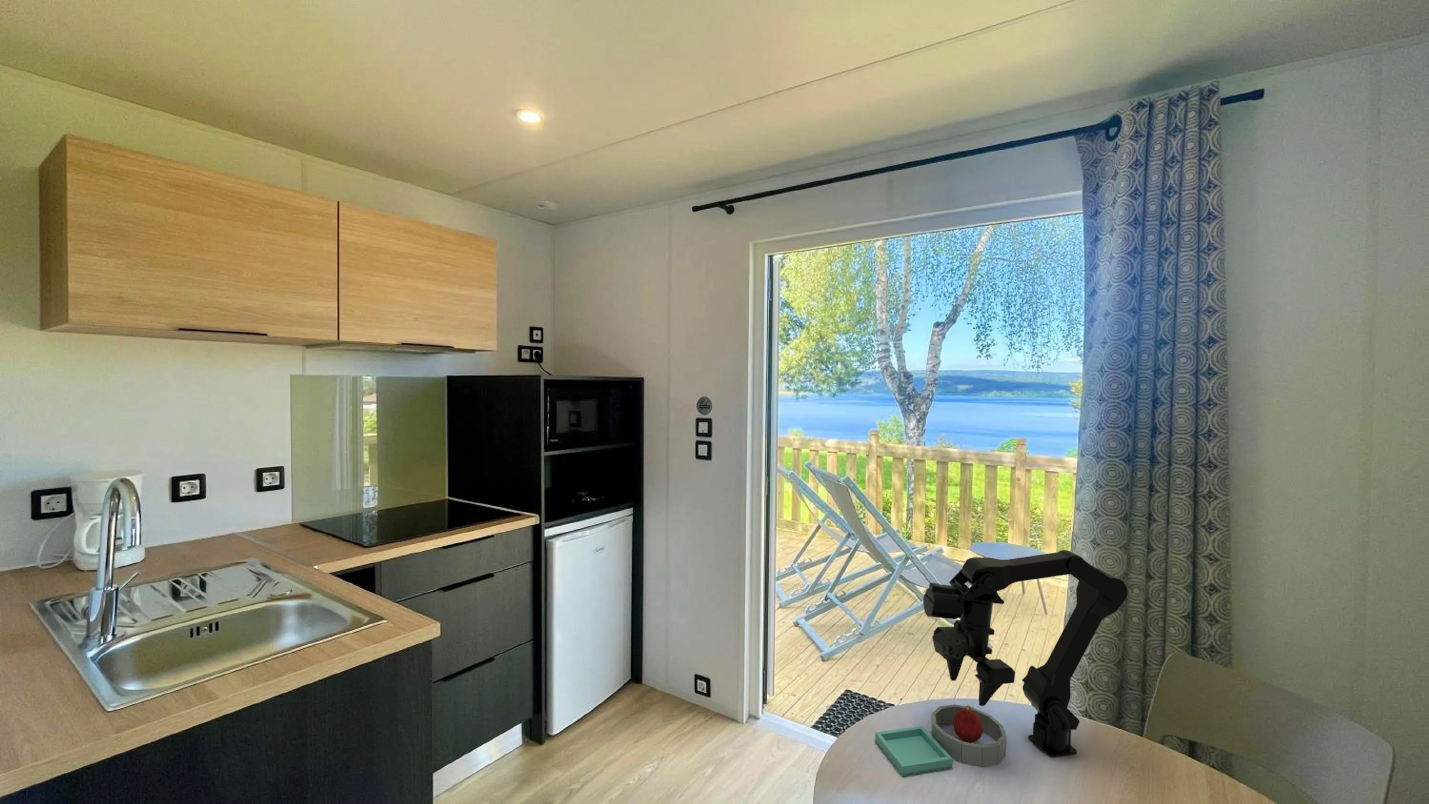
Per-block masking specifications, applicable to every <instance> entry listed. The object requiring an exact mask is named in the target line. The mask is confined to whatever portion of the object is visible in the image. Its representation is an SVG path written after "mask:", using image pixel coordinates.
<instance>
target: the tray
mask: <svg viewBox="0 0 1429 804" xmlns="http://www.w3.org/2000/svg"><path fill="white" fill-rule="evenodd" d="M874 733H875V735H874V736H875V737H874V738H875V740H874V742H875V744H876V745H877V746H878V747H879V749H880V750H881V751H882V753H883V754H884V755H885V757H886V758H887V760H889V762H890V763H891V764H892V766H893V768H894V769H895V770H896V771H897V772H898V774H899V775H900V776H901V778H905V777H912V776H917V775H923V774H929V773H935V772H941V771H942V772H943V771H948V770H953V766H954V765H953V764H954V763H953V762H954V761H953V760H954V759H953V758H952V757H951V756H950V755H949V754H948V753H947V752H946V751H945V750H944V749H943V748H942V747H941V746H940V745H939V744H938V742H937V741H936V740H935V739H934V738H933V737H932V736H931V733H929V732H928V731H927V729H926V728H925V727H924V726H923V725H919V726H911V727H905V728H904V727H903V728H898V729H889V730H883V731H875V732H874Z"/></svg>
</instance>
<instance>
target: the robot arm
mask: <svg viewBox="0 0 1429 804" xmlns="http://www.w3.org/2000/svg"><path fill="white" fill-rule="evenodd" d="M1084 559H1085V558H1083V557H1082V556H1080V555H1078V554H1077V553H1075V552H1073V551H1070V550H1068V549H1067V550H1066V549H1062V550H1059V551H1057V552H1050V553H1043V554H1035V555H1029V556H1023V557H1016V558H1009V559H999V558H992V557H986V556H985V557H982V556H981V557H980V556H973V557H969V558H967V559H966V560H965V562H964V563H963V565H962V568H961V569H960V570H959V571H958V572H957V573H956V574H955V575H954V576H952V579H951V580H949V582H948V583H949V584H948V585H947V584H940V583H937V582H929V585H928V587H927V589H926V590H925V591H924V594H923V600H922V601H923V610H924V613H925V615H926V616H927V617H929V618H939V619H950V620H954V621H955V622H953V626H937V627H936V628H935V629H934V630H933V635H932V636H931V637H932V643H933V647H934V651H935V653H937V654H939V656H941V657H942V658H943V659H944V660H946V664H947V669H948V673H949V678H950V680H951V681H952V682H954V681H955V682H956V681H957V680H958V677H959V674H960V672H961V668H962V665H963V661H964V659H965V657H966V656H967V657H969V658H970V659H971V660H973V661H974V662H975V663H976V667H975V671H976V673H977V674H974V676H975V678H976V679H977V680H978V681H979V686H978V687H979V689H978V705H979V707H985V706H986V705H987V704H988V702H989V701H990V699H991V698H992V697H993V696H994V694H995V693H996V692H997V691H998V690H999V689H1000V688H1001V687H1002V686H1003V685H1004V684H1005V685H1007V684H1014V683H1015V677H1016V671H1015V670H1014V669H1013V668H1012V667H1011V666H1010V665H1008V664H1007V663H1006V662H1005V661H1003V660H1002V659H999V658H994V659H989V658H988V657H987V655H992V654H993V649H992V648H991V647H989V640H990V636H994V635H995V632H996V631H995V629H993V628H992V627H991V623H992V615H993V605H994V604H996V605H998V604H999V605H1004V604H1005V600H1003V599H1002V597H1001V596H1000V595H999V593H998V592H999V591H1003V590H1006V588H1008V587H1009V586H1011V585H1012V584H1015V583H1019V582H1025V581H1033V580H1040V579H1046V578H1047V579H1048V578H1054V577H1060V576H1068V575H1070V576H1072V577H1073V578H1075V579H1076V580H1077V581H1078V582H1077V585H1076V590H1075V591H1076V592H1075V594H1076V605H1075V607H1074V609H1073V611H1072V612H1071V615H1070V617H1069V618H1068V621H1067V623H1066V625H1065V627H1064V629H1063V630H1062V632H1061V634H1060V636H1059V637H1058V640H1057V641H1056V644H1054V647H1053V649H1052V651H1051V652H1050V655H1049V657H1048V658H1047V660H1046V662H1045V663H1044V664H1043V665H1041V666H1039V667H1035V666H1034V665H1030V667H1028V670H1027V672H1026V673H1027V674H1026V675H1025V676H1024V677H1023V678H1022V679H1021V681H1022V682H1023V685H1022V691H1023V694H1024V695H1023V696H1024V697H1025V698H1026V699H1027V700H1028V701H1029V702H1030V705H1031V706H1032V707H1033V708H1035V710H1036V711H1037V713H1035V714H1034V722H1032V723H1033V724H1032V727H1033V728H1032V734H1028V737H1027V738H1028V739H1029V741H1031V742H1032V743H1033V744H1035V745H1036V746H1037V747H1039V748H1040V750H1041V751H1043V752H1044V753H1045V754H1046V755H1048V756H1049V757H1050V758H1055V757H1063V756H1068V755H1073V754H1077V753H1078V751H1077V749H1076V748H1075V747H1074V746H1072V745H1071V740H1072V731H1076V730H1077V729H1078V727H1079V725H1080V722H1081V721H1080V719H1079V718H1078V717H1077V716H1076V715H1075V714H1074V713H1073V712H1072V711H1071V709H1069V703H1070V701H1071V696H1072V692H1071V688H1072V687H1071V679H1072V677H1073V676H1074V674H1075V672H1076V670H1077V668H1078V666H1079V664H1080V662H1081V661H1082V658H1083V657H1084V655H1085V653H1086V651H1087V650H1088V647H1089V645H1090V644H1091V642H1092V640H1093V638H1094V636H1095V635H1096V632H1097V630H1098V629H1099V626H1100V625H1101V623H1102V621H1103V620H1104V619H1105V618H1108V617H1109V616H1111V615H1112V614H1114V613H1116V612H1118V610H1120V608H1121V606H1122V605H1123V604H1124V603H1125V601H1126V600H1127V599H1128V596H1129V590H1128V588H1127V585H1126V584H1125V582H1124V581H1123V580H1122V579H1120V578H1118V577H1117V576H1114V575H1112V574H1111V573H1108V572H1107V571H1105V570H1103V569H1101V568H1099V567H1095V566H1093V565H1091V564H1090V563H1088V561H1086V560H1084ZM967 583H968V584H969V585H971V586H970V587H969V585H968V584H967Z"/></svg>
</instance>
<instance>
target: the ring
mask: <svg viewBox="0 0 1429 804" xmlns="http://www.w3.org/2000/svg"><path fill="white" fill-rule="evenodd" d="M966 706H967V705H959V704H948V705H947V704H946V705H939V706H938V707H937V708H935V710H933V711H932V712H931V713H930V735H931V736H932V737H933V738H934V739H935V740H936V741H937V742H938V744H939V745H940V746H941V747H942V748H943V749H944V750H945V751H946V752H947V753H948V754H949V755H950V756H951V757H952V758H953V760H955V761H957V762H959V763H960V764H963V765H969V766H975V767H979V768H986V767H991V766H997V765H999V764H1001V762H1002V761H1003V760H1004V759H1005V758H1006V756H1007V737H1008V736H1007V734H1006V731H1005V727H1004V725H1003V724H1002V723H1000V722H999V720H997V719H996V718H994V717H993V715H991V714H988V713H986V712H984V711H982V710H980V709H977V708H974V707H973V706H970V707H971V710H972V711H973V712H974V713H976V714H977V716H978V717H979V719H980V720H981V723H982V726H983V732H982V733H984V734H986V735H988V736H989V737H990V738H991V739H992V740H994V742H993V743H986V744H977V743H967V742H964V741H962V740H961V739H958V738H957V737H954V736H953V735H949V734H948V733H946V732H945V730H943V729H942V727H943V726H942V725H944V726H951V725H953V719H954V716H955V714H956V713H957V712H958V711H960V710H963V709H965V708H966Z"/></svg>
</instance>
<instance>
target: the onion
mask: <svg viewBox="0 0 1429 804" xmlns="http://www.w3.org/2000/svg"><path fill="white" fill-rule="evenodd" d="M965 706H966V708H965V709H963V710H960V711H958V712H957V713H956V714H955V716H954V719H953V724H952V727H953V731H954V734H956V736H957V737H958V738H959V740H960V741H962V742H967V743H973V744H975V743H976V742H978V741H979V739H980V738H981V737H982V736H983V733H984V732H983V726H982V723H981V720H980V719H979V717H978V716H977V714H976V713H974V712H973V711H972V710H971V707H972V706H970V705H968V704H967V705H965Z"/></svg>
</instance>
